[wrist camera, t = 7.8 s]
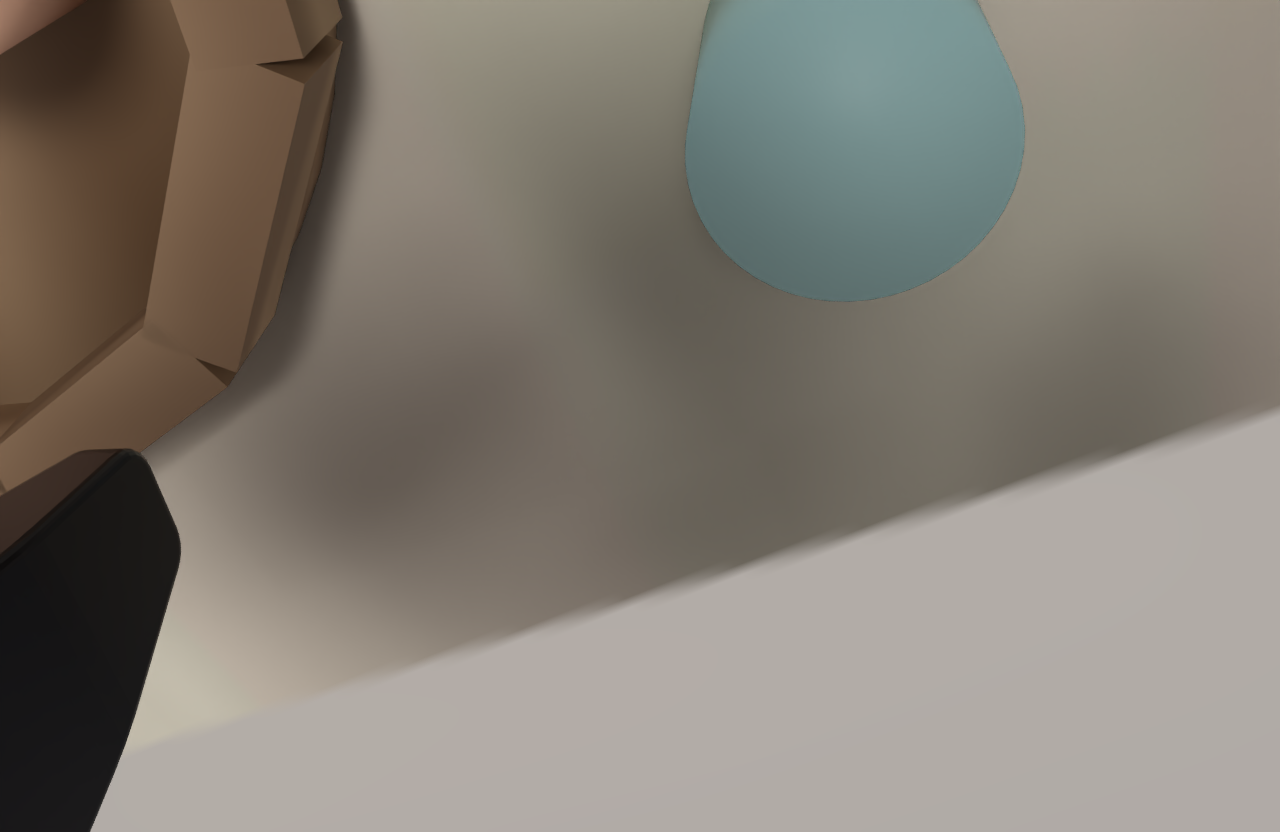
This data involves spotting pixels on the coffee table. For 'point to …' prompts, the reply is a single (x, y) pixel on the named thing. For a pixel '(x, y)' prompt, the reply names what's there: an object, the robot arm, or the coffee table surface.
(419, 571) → the coffee table surface
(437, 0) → the coffee table surface
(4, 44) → the bead terracotta
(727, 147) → the bead teal
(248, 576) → the coffee table surface
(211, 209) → the ring tray
